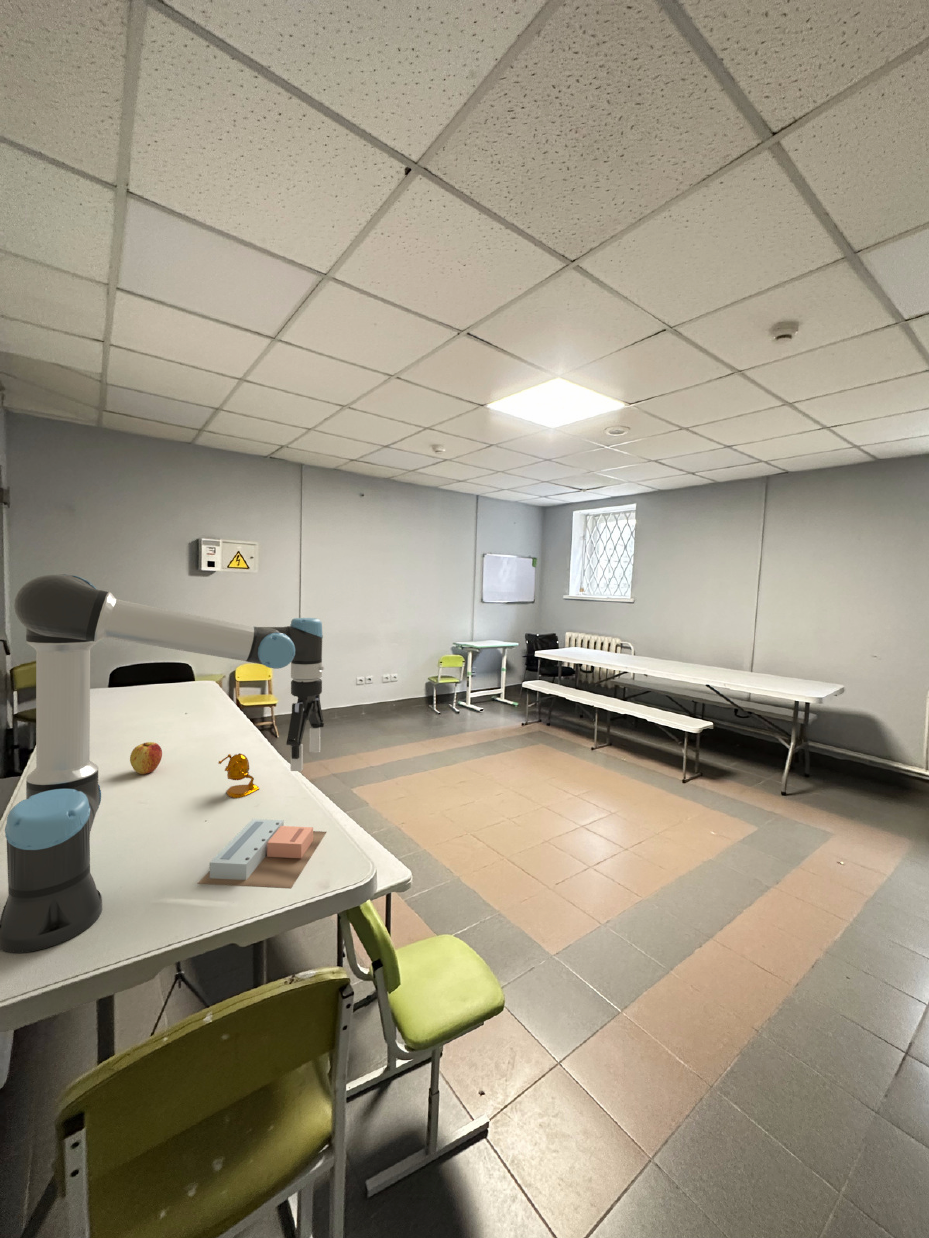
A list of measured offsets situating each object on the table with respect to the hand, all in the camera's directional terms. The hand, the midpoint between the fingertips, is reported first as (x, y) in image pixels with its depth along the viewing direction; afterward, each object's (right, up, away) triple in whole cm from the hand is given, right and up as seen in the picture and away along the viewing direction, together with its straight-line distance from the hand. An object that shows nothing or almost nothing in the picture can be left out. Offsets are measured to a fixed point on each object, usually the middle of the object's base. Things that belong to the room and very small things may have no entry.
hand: (306, 760), depth 128 cm
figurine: (-28, -17, +24) cm, 41 cm away
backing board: (-5, -20, -11) cm, 23 cm away
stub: (-1, -19, -8) cm, 21 cm away
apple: (-65, -15, +37) cm, 77 cm away
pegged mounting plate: (-10, -19, -11) cm, 24 cm away
